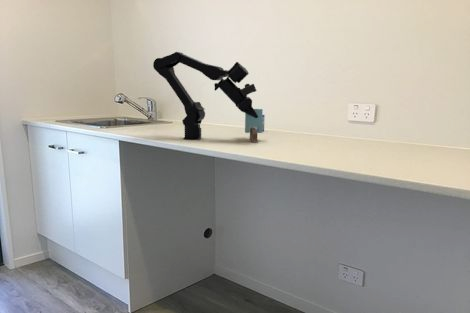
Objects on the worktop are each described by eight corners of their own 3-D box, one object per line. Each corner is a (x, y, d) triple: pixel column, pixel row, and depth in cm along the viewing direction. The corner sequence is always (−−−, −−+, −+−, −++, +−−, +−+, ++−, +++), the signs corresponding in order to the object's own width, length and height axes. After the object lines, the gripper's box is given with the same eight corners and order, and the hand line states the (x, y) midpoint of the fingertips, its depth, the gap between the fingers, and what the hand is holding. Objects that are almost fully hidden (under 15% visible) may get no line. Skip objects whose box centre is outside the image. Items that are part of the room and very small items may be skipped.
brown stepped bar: (257, 142, 155) (257, 130, 154) (252, 142, 155) (252, 130, 154) (254, 138, 167) (254, 127, 166) (249, 138, 167) (249, 127, 166)
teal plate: (245, 132, 159) (246, 109, 157) (244, 131, 162) (245, 108, 160) (261, 132, 159) (262, 109, 157) (260, 132, 162) (261, 108, 160)
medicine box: (255, 132, 186) (256, 115, 185) (248, 132, 189) (248, 115, 187) (264, 131, 193) (264, 114, 191) (257, 130, 195) (257, 114, 194)
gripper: (247, 76, 146) (274, 105, 149) (243, 77, 165) (267, 102, 168) (227, 96, 147) (254, 124, 150) (225, 95, 166) (249, 120, 169)
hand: (256, 117), depth 159 cm, fingers closed on teal plate, 3 cm apart
